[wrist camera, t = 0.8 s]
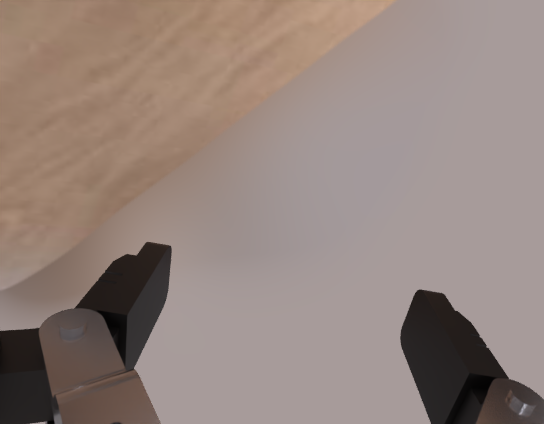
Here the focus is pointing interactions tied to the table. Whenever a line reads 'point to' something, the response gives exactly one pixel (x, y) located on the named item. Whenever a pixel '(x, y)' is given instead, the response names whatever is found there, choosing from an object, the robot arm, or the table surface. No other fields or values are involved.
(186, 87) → the table surface
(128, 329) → the robot arm
